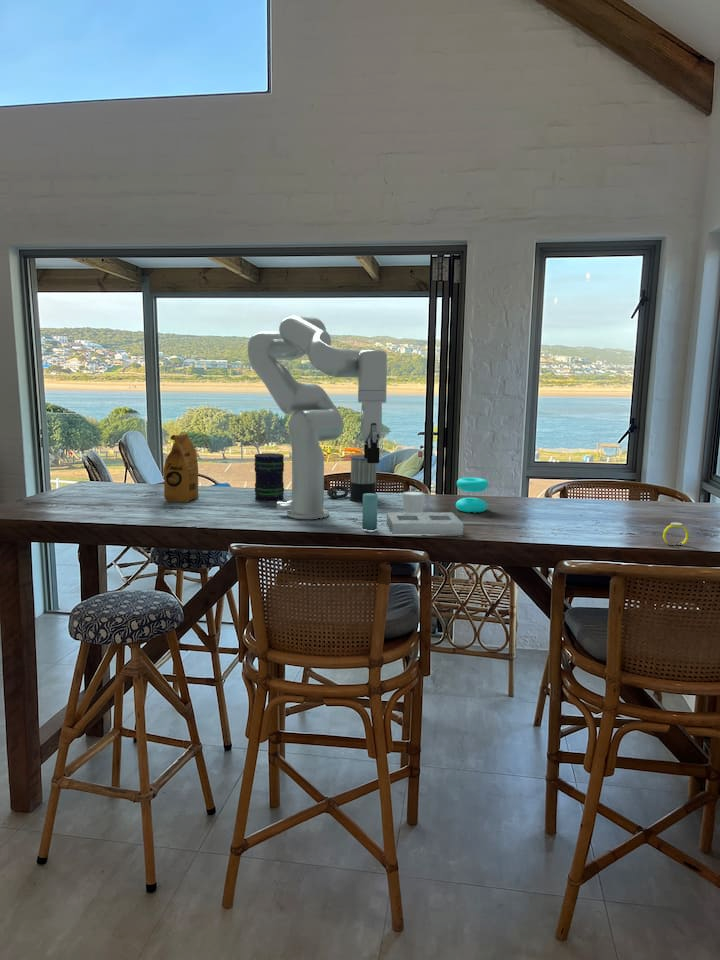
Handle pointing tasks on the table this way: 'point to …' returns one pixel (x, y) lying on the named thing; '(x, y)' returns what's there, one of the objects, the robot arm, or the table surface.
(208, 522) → the table surface
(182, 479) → the coffee package
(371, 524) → the peg
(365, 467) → the milk frother
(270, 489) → the storage jar
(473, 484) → the donuts
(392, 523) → the block
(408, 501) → the grey cup
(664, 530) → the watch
